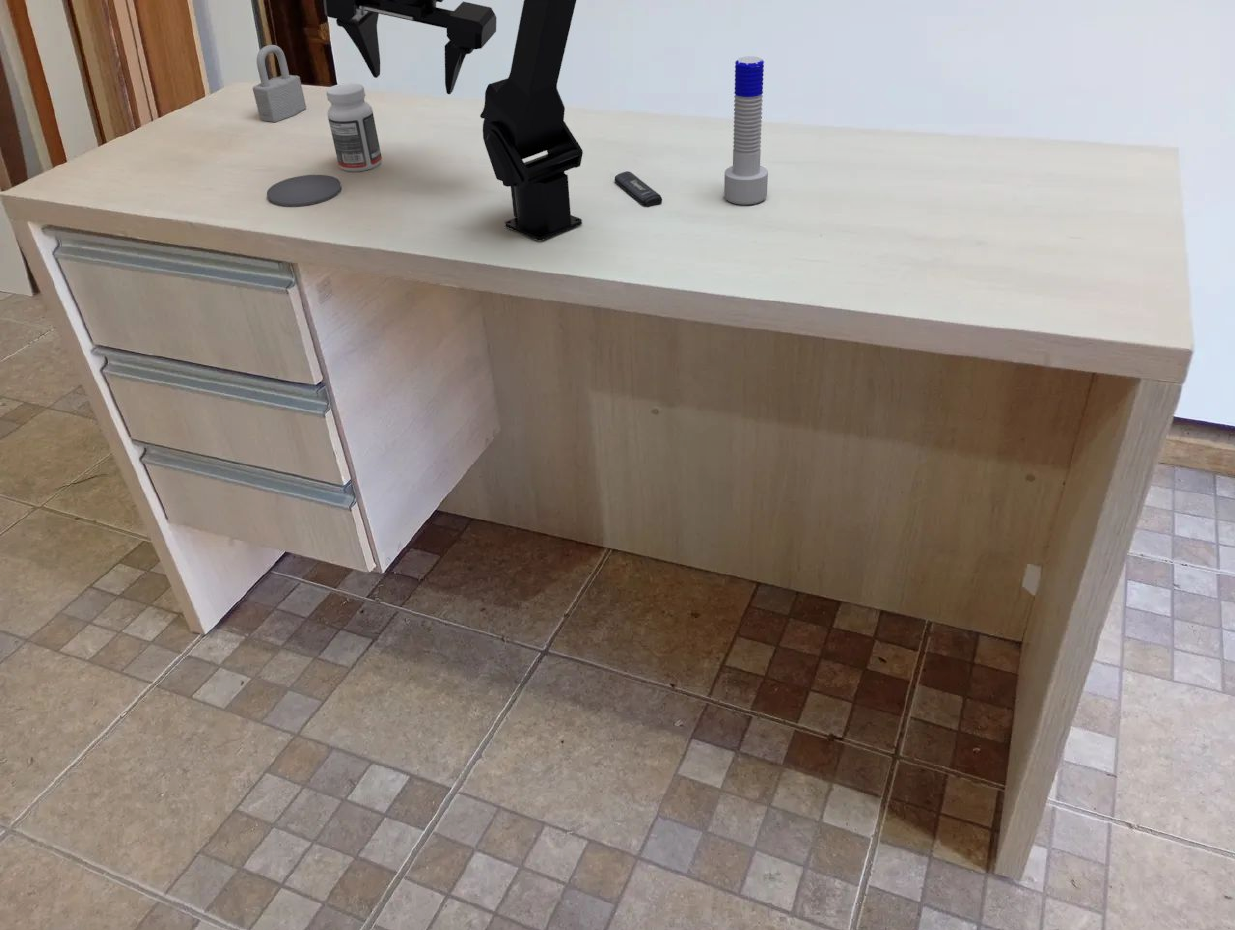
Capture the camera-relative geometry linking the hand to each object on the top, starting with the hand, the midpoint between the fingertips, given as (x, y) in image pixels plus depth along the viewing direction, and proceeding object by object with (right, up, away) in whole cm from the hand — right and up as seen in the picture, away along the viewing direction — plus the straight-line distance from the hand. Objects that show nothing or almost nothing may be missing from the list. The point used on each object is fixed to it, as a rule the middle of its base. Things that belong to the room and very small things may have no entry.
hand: (413, 84), depth 122 cm
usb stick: (+27, -13, +1) cm, 30 cm away
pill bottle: (-10, -6, +13) cm, 17 cm away
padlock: (-26, +7, +32) cm, 42 cm away
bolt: (+39, -14, -2) cm, 42 cm away
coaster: (-15, -11, +6) cm, 20 cm away
